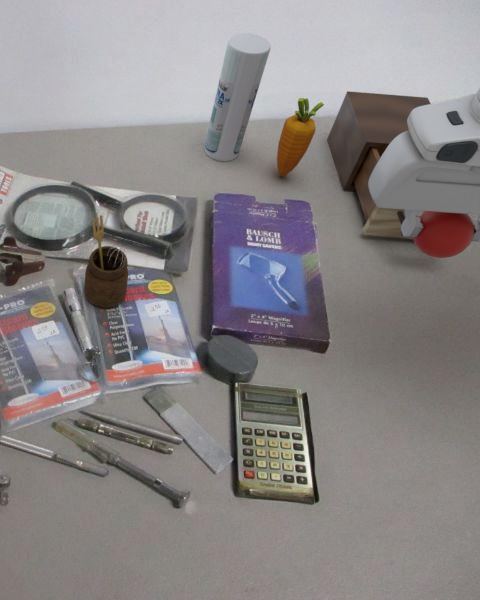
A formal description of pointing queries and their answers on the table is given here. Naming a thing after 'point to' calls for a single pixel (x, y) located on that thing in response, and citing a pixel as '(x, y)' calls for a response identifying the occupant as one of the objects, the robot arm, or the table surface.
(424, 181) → the robot arm
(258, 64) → the spray can
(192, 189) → the table surface
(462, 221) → the apple
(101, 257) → the utensil holder
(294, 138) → the carrot
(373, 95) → the cabinet
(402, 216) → the drawer
